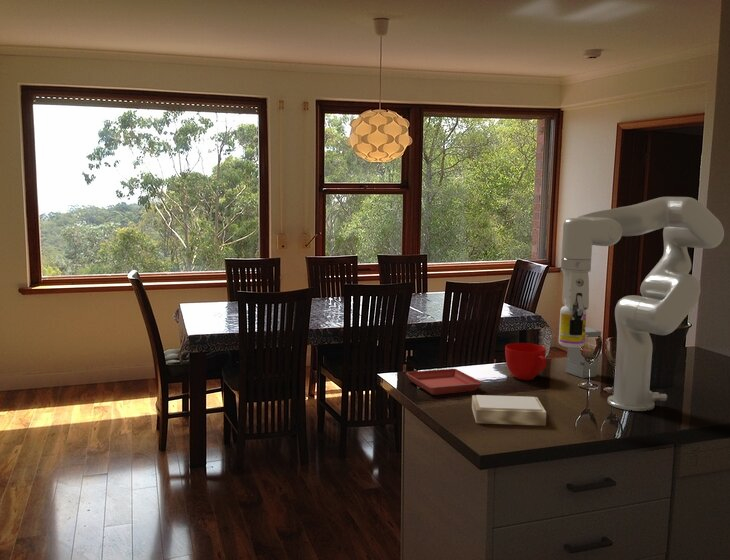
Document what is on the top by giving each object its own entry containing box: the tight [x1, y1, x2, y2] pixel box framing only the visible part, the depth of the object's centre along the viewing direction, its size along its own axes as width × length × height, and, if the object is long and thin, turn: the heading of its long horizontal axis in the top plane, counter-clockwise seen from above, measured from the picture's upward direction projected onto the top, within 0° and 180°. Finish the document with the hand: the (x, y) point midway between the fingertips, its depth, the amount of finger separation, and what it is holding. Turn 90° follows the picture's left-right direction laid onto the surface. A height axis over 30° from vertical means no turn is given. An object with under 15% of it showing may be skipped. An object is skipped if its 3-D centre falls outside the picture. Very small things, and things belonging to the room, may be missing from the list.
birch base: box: [471, 394, 547, 426], centre depth 186 cm, size 18×13×4 cm
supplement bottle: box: [558, 299, 587, 348], centre depth 182 cm, size 7×7×13 cm
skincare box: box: [564, 326, 602, 379], centre depth 228 cm, size 8×7×16 cm
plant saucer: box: [405, 368, 483, 396], centre depth 213 cm, size 18×18×3 cm
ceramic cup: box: [504, 342, 548, 381], centre depth 223 cm, size 13×17×10 cm
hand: (572, 331), depth 183 cm, fingers closed on supplement bottle, 6 cm apart
